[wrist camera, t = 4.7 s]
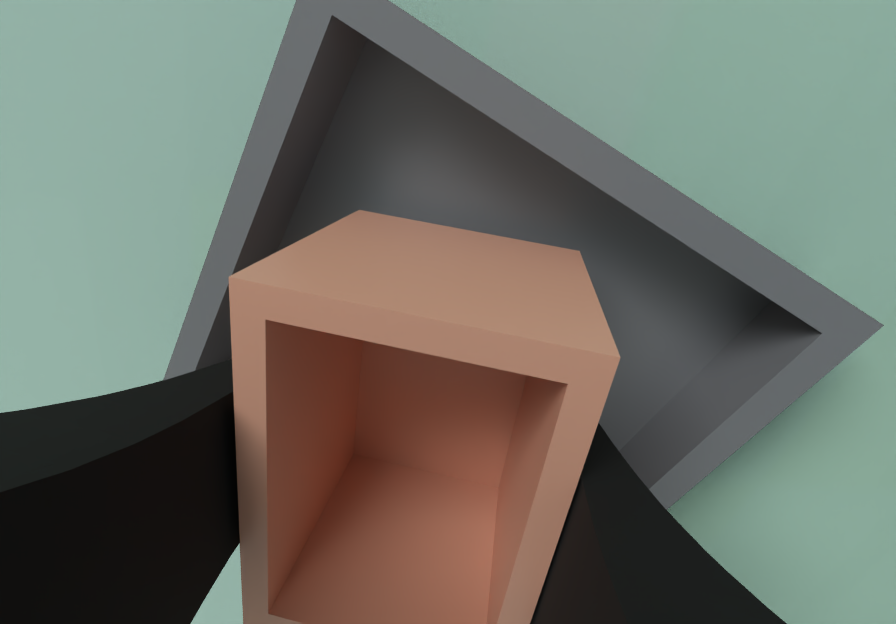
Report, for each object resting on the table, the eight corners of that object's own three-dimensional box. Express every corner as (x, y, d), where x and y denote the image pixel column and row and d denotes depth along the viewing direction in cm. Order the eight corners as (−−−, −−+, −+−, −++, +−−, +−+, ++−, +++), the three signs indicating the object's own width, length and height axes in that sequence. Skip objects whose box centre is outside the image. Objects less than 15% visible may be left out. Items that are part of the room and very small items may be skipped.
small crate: (579, 250, 10) (620, 357, 6) (514, 492, 13) (504, 697, 8) (359, 209, 11) (228, 277, 6) (341, 451, 13) (243, 624, 9)
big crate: (810, 281, 11) (883, 325, 9) (518, 563, 16) (514, 638, 14) (364, -11, 10) (313, -50, 8) (207, 377, 16) (148, 423, 13)
